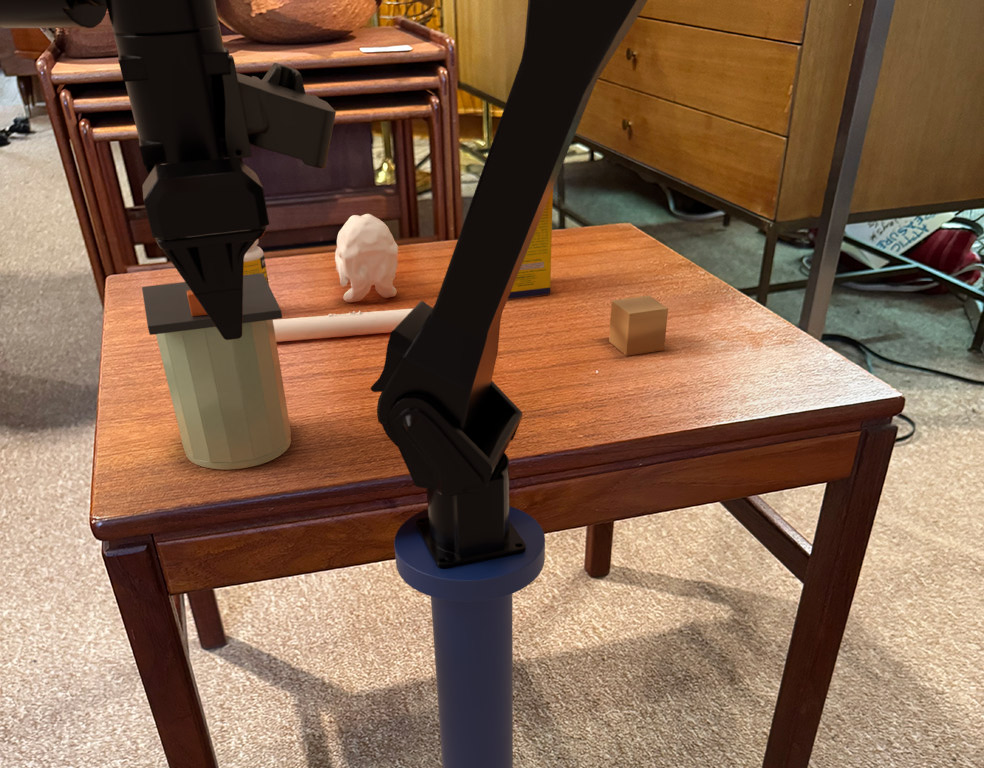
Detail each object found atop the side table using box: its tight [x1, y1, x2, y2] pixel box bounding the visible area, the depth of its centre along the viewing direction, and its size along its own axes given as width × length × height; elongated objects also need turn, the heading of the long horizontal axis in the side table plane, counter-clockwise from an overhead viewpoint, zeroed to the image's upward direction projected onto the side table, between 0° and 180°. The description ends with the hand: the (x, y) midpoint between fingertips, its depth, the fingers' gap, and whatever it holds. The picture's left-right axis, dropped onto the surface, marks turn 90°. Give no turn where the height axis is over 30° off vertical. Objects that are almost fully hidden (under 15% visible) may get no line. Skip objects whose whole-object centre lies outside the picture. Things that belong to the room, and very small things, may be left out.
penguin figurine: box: [334, 213, 399, 303], centre depth 102 cm, size 6×8×12 cm
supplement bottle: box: [243, 239, 270, 286], centre depth 97 cm, size 5×5×8 cm
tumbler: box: [155, 319, 292, 471], centre depth 72 cm, size 8×8×11 cm
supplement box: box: [507, 188, 554, 301], centre depth 101 cm, size 6×6×11 cm
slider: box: [141, 273, 283, 336], centre depth 67 cm, size 9×9×2 cm
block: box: [608, 294, 669, 357], centre depth 89 cm, size 4×4×4 cm
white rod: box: [273, 307, 415, 343], centre depth 93 cm, size 18×2×2 cm, turn 101°
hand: (226, 312), depth 61 cm, fingers open, 9 cm apart
